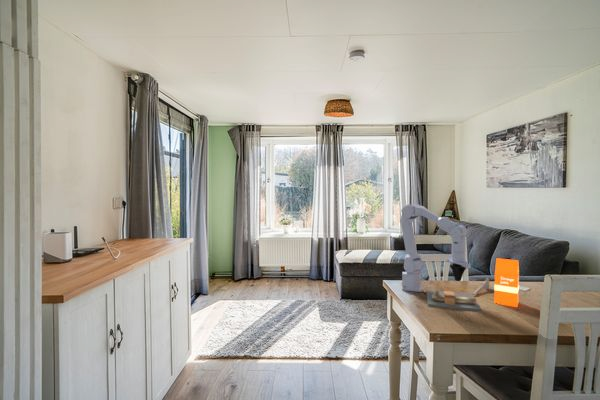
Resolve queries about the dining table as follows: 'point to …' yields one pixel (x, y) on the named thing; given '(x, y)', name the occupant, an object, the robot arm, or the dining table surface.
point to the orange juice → (506, 282)
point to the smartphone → (523, 288)
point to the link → (457, 299)
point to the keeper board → (452, 301)
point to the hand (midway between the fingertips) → (458, 280)
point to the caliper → (482, 286)
